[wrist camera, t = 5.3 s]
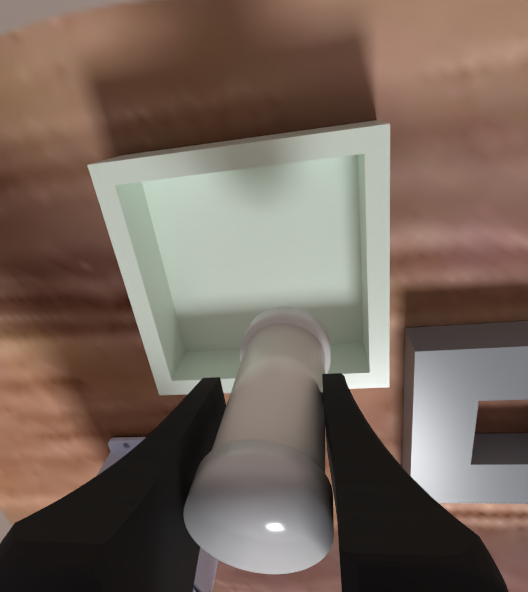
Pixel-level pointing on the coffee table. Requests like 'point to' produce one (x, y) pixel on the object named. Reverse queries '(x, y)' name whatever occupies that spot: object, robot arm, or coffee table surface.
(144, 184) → the parts tray
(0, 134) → the coffee table surface
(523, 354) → the grey square frame
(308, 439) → the cylinder
